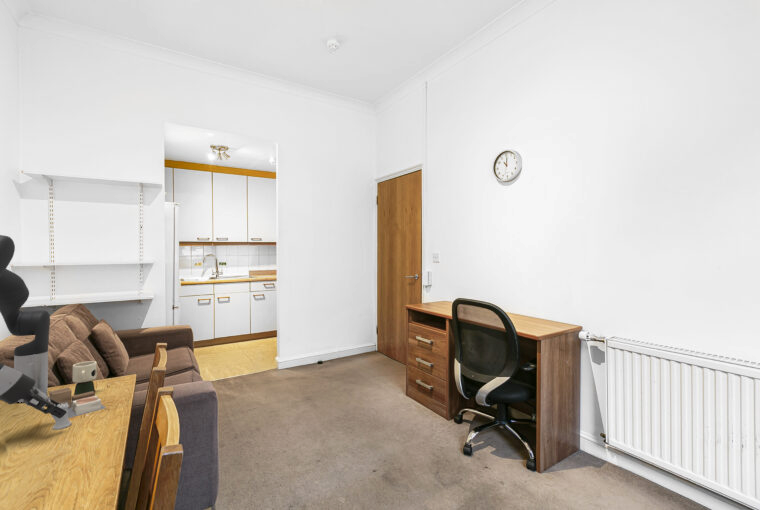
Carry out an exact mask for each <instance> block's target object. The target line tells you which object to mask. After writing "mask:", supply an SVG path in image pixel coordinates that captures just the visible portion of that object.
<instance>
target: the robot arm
mask: <svg viewBox="0 0 760 510" xmlns="http://www.w3.org/2000/svg"><path fill="white" fill-rule="evenodd" d="M15 246H16V245H15V241H14V240H13V239H12V238H11V237H10V236H9V235H8V236H7V235H3V234H0V315H1V316H2V318H3V321H4V322H5V323H4V324H5V325H6V328H7V329H8V332H9V334H11V335H12V336H16V337H28V336H34V339H32V340H31V341H29V342H26V343H24V344H21V345H18V346H16V347H15V348H14V350H13V358H14V359H13V367H11V366H8V365H5V364H3V363H1V362H0V401H2V402H4V403H6V404H7V405H13V404H16V402H19V403H18V404H20V403H21V402H22V403H24V405H26V406H28V407H31V408H33V409H35V410H36V411H39V412H42V413H43V414H44V415H48V414H50V415H51V414H52V415H54V416H56V417H58V418H62V417H63V416H64V415H65V414H66V411H65V410H63V409H61V408H59V407H58V406H57V405H58V404H60V403H58V402H56V401H54V400H52V399H49V395H48V384H49V383H48V381H49V380H48V378H49V377H48V376H49V375H48V374H49V342H50V329H51V328H50V327H51V317H50V312H49V311H48V310H28V311H23V310H20V309H21V308H22V307H23V306H24V304H25V303H26V302H27V301H28V299H29V296H30V290H29V288H28V286H27V284H26V283H25V281H24V279H23V278H22V277H21V276H20V275H18V274H16V273H15V272H14V271H11V270H9V269H8V266H9V265H10V263H11V261H12V259H13V257H14V255H15V250H16V247H15ZM60 405H61V404H60ZM45 407H46V408H45ZM52 415H51V416H52Z"/></svg>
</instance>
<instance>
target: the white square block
mask: <svg viewBox="0 0 760 510" xmlns="http://www.w3.org/2000/svg"><path fill="white" fill-rule="evenodd" d="M101 404H102V399H100V398H99V397H98V396H97V395H95V396H92V397H88V398H84V399H79V400H75V401H73V404H72V410H73V411H74V412H75V413H76V415H79V414H82V415H84V414H83V413H86V412H90V411H94V410H97V411H99V410H98V409H101ZM101 410H102V409H101ZM94 412H95V411H94ZM90 413H91V412H90ZM86 414H87V413H86ZM79 416H80V415H79Z"/></svg>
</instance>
